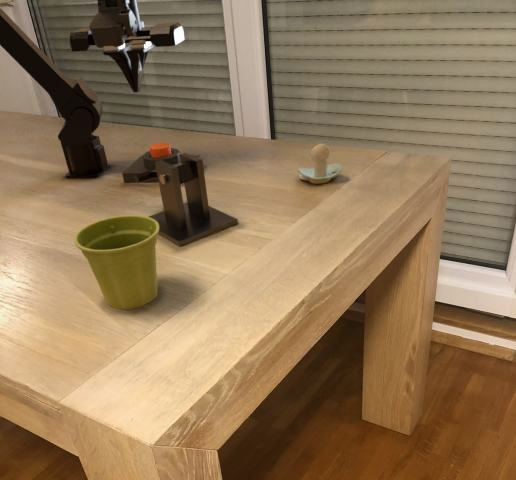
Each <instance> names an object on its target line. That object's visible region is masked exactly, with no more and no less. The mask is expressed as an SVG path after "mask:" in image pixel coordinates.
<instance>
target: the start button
mask: <svg viewBox="0 0 516 480" xmlns="http://www.w3.org/2000/svg"><path fill="white" fill-rule="evenodd" d="M171 148H172V147H171V144H170V143H169V142H158V143H154V144H150V146H149V151H150V153H151V157H153V158H162V157H167V156H169V155H172V154H171Z"/></svg>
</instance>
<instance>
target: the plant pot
mask: <svg viewBox="0 0 516 480" xmlns="http://www.w3.org/2000/svg"><path fill="white" fill-rule="evenodd" d="M158 232H159V224H158V222H157V221H156V220H154V219H152V218H150V217H149V216H145V215H138V214H126V215H123V214H122V215H115V216H110V217H106V218H102V219H99V220H96V221H93V222H91V223H89V224H86V225H85V226H83V227H81V228H80V229H79V230H78V231H77V232H76V233H74V236H73V243H74V245H75V246H76V248H78V249H79V250H80V251H81V253H82V255H83V257H84V258H85V259H86V260H87V262H88V264H89V266H90V268H91V271H92V273H93V275H94V278H95V280H96V281H97V284H98V286H99V288H100V291H101V293H102V296H103V298H104V300H105V301H106V304H107V305H108V306H110V307H112V308H113V309H117V310H132V309H133V310H134V309H137V308H140V307H144V306H146V305H147V304H148V303H151V302H153V301H154V300H155V299H156V297H157V295H158V292H159V291H158V274H157V273H158V272H157V254H156V253H157V251H156V245H157V241H158V237H157V236H158Z"/></svg>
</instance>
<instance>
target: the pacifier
mask: <svg viewBox="0 0 516 480" xmlns="http://www.w3.org/2000/svg"><path fill="white" fill-rule="evenodd" d="M329 156H330V149H329V146H328V145H327V144H325V143H318V144H316V145H315V146H314V147H313V148H312V149H311V152H310V158H311V160H312V162H313V167H306V168H305V167H304V168H302V167H301V168H298V170H297V171H298V173H299V174H298V179H300V180H302V181H306V182H307V181H308V182H309V183H310V184H314V185H315V184H319V185H320V184H324V183H328V182H330V181H331V179H333V178H335V177H338V176H339V175H340V173H341V172H342V171H343V163H340V162H339V163H338V162H337V163H330V164H328V161H327V160H328V158H329Z"/></svg>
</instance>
